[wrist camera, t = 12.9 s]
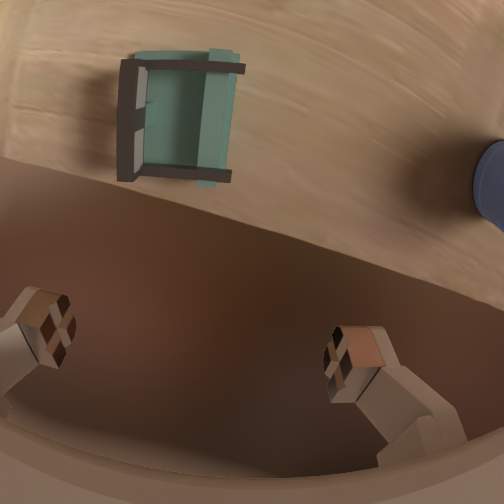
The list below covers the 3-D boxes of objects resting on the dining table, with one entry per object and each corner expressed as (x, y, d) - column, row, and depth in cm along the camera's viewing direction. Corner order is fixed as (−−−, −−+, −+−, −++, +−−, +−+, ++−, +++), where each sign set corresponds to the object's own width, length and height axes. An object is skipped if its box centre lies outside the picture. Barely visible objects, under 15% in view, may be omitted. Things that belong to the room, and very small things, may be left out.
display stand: (138, 52, 31) (124, 49, 27) (239, 55, 32) (238, 50, 28) (131, 169, 40) (118, 180, 35) (224, 176, 41) (221, 189, 36)
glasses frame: (133, 61, 28) (120, 59, 24) (245, 64, 29) (245, 62, 25) (128, 171, 35) (116, 181, 31) (230, 179, 36) (228, 190, 32)
